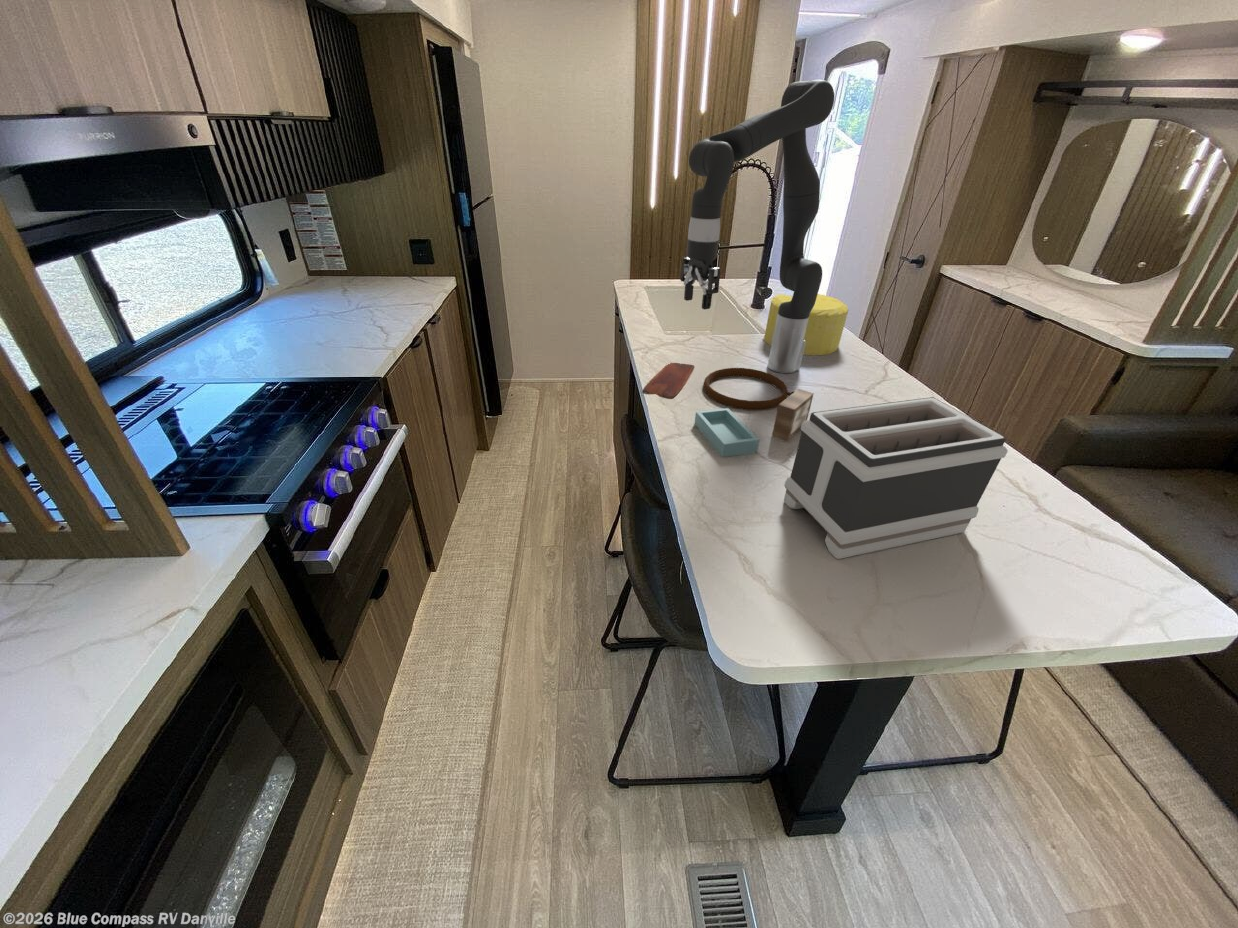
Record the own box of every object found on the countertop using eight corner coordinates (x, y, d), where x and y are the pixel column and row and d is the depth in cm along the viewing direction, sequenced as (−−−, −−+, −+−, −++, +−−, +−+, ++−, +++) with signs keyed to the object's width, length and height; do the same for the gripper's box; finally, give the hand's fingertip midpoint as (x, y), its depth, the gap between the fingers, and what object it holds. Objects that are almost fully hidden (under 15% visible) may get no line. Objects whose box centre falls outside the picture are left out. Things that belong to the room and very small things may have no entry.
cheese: (771, 326, 201) (778, 287, 193) (841, 337, 193) (852, 297, 184) (757, 347, 182) (764, 304, 173) (834, 360, 173) (846, 316, 164)
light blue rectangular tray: (694, 423, 133) (695, 411, 131) (726, 419, 135) (728, 408, 133) (722, 457, 120) (724, 444, 118) (756, 452, 122) (759, 439, 120)
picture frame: (791, 419, 136) (798, 388, 131) (805, 424, 134) (814, 393, 129) (771, 436, 128) (778, 404, 123) (786, 442, 126) (794, 409, 121)
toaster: (984, 530, 100) (1035, 437, 88) (834, 562, 91) (869, 464, 80) (914, 477, 115) (949, 392, 103) (779, 501, 106) (802, 410, 94)
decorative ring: (807, 413, 134) (695, 392, 143) (804, 422, 136) (694, 402, 144) (812, 378, 153) (713, 361, 162) (810, 387, 155) (712, 370, 163)
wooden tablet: (673, 401, 145) (674, 396, 144) (640, 394, 148) (640, 389, 147) (698, 368, 165) (699, 363, 164) (669, 362, 168) (669, 357, 168)
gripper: (733, 242, 121) (724, 310, 130) (700, 231, 132) (694, 295, 141) (706, 244, 118) (699, 314, 127) (675, 233, 129) (670, 298, 138)
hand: (696, 304), depth 134 cm, fingers open, 8 cm apart
